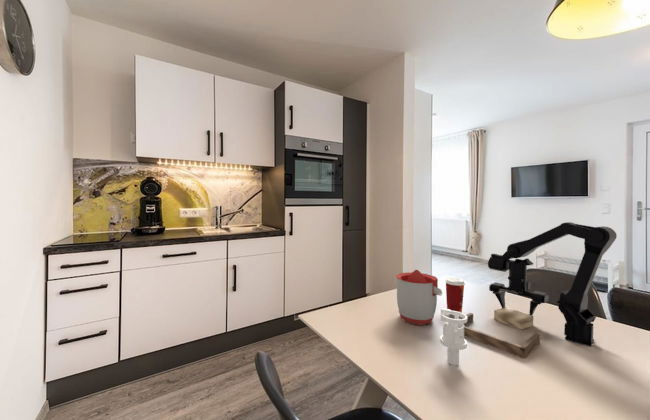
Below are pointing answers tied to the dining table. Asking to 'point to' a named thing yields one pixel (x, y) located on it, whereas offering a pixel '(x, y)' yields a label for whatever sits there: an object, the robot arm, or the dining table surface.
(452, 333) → the white flanged plastic holder
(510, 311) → the cream rectangular block
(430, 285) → the citrus juicer
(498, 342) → the brown angled piece
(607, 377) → the dining table surface
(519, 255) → the robot arm
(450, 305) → the paper cup
